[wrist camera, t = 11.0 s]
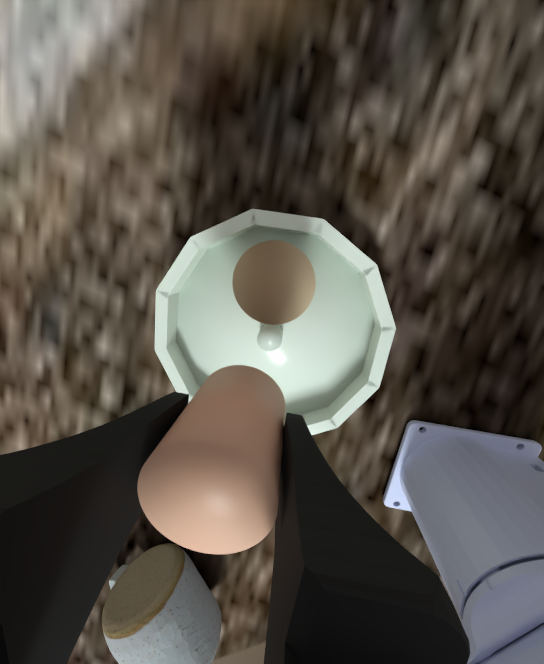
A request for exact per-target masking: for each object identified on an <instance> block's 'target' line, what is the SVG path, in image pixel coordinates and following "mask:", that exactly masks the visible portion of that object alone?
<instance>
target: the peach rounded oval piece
mask: <svg viewBox="0 0 544 664" xmlns="http://www.w3.org/2000/svg"><path fill="white" fill-rule="evenodd" d="M284 422H285V399H284V396H283V393H282V391H281V389H280V387H279V386H278V384H277V383H276V382H275V381H274V380H273V379H272V378H271V377H270V376H269V375H268V374H266V373H265V372H263V371H261V370H259V369H257V368H254V367H250V366H245V365H232V366H227V367H223V368H221V369H219V370H217V371H215V372H214V373H212V374H211V375H210V376H209V377H208V378H207V379H206V380H205V382H204V383H203V384H202V386H201V387H200V388H199V390H198V391H197V392H196V394H195V395H194V397H193V398H192V399H191V401H190V402H189V403H188V405H187V406H186V407H185V409H184V410H183V412H182V413H181V414H180V416H179V417H178V418H177V420H176V421H175V422H174V424H173V425H172V427H171V428H170V429H169V431H168V432H167V433H166V435H165V436H164V437H163V439H162V440H161V442H160V443H159V444H158V446H157V447H156V448H155V450H154V451H153V452H152V454H151V455H150V457H149V458H148V459H147V461H146V462H145V464H144V465H143V467H142V469H141V471H140V474H139V478H138V485H137V490H138V497H139V502H140V505H141V507H142V510H143V511H144V513H145V515H146V517H147V518H148V520H149V521H150V522H151V524H152V525H153V526H154V527H155V528H156V529H157V530H158V531H159V532H160V533H161V534H163V535H164V536H165V537H167V538H168V539H169V540H171V541H173V542H174V543H176V544H178V545H180V546H182V547H185V548H187V549H190V550H193V551H197V552H201V553H207V554H230V553H236V552H240V551H243V550H246V549H248V548H250V547H252V546H254V545H256V544H257V543H259V542H260V541H261V540H263V539H264V538H265V537H266V536H267V535H268V533H269V532H270V530H271V529H272V527H273V525H274V523H275V521H276V517H277V513H278V502H279V489H280V475H281V462H282V449H283V433H284Z"/></svg>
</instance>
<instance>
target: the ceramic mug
mask: <svg viewBox="0 0 544 664" xmlns="http://www.w3.org/2000/svg"><path fill="white" fill-rule="evenodd" d="M109 585H110V588H111V591H110V593H109V595H108V598H107V600H106V603H105V606H104V608H103V613H102V628H103V632H104V636H105V639H106V642H107V645H108V647H109V649H110V651H111V653H112V655H113V656H114V658H115V659H116V660H117V662H118V663H119V664H211V663H212V661H213V659H214V656H215V653H216V650H217V647H218V643H219V639H220V633H221V612H220V609H219V606H218V603H217V601H216V600H215V598H214V596H213V595H212V593H211V592H210V590H209V588H208V587H207V585H206V583H205V582H204V580H203V578H202V577H201V575H200V574H199V572H198V571H197V569H196V567H195V565H194V564H193V562H192V560H191V559H190V557H189V556H188V555H187V553H186V552H185V551H184V550H183V549H182V548H180V547H179V546H178V545H175V544H171V543H166V544H161V545H157V546H155V547H152V548H150V549H149V550H147V551H145V552H144V553H143V554H141V555H140V556H139V557H137V558H136V559H135V560H134V561H133V562H132V563H131V564H130V565H125V564H124V565H122V566H121V567H120V568H119V569H118V570H117V571H116V572H115V573H114V575H113V576H112V577H111V579H110V580H109Z"/></svg>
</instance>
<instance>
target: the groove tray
mask: <svg viewBox="0 0 544 664" xmlns="http://www.w3.org/2000/svg"><path fill="white" fill-rule="evenodd" d="M270 240H277V241H283V242H287V243H290V244H292V245H294V246H296V247H297V248H298V249H300V250H301V251H302V252H303V253H304V254H305V255H306V256H307V258H308V259H309V261H310V262H311V264H312V267H313V269H314V273H315V279H316V287H315V293H314V296H313V299H312V301H311V303H310V305H309V307H308V308H307V309H306V310H305V312H304V313H303V314H301V315H300V316H299V317H298V318H296V319H294V320H293V321H290V322H288V323H284V324H279V325H270V324H264V323H261V322H258V321H256V320H254V319H252V318H251V317H250V316H248V315H247V314H246V313H245V312H244V311H243V310H242V309H241V307H240V306H239V304H238V303H237V301H236V298H235V296H234V292H233V285H232V279H233V272H234V269H235V266H236V264H237V262H238V260H239V259H240V257H241V256H242V255H243V254H244V253H245V252H246V251H247V250H248V249H249V248H251V247H252V246H254V245H256V244H258V243H261V242H264V241H270ZM395 330H396V327H395V323H394V320H393V316H392V313H391V310H390V306H389V303H388V300H387V296H386V293H385V290H384V286H383V283H382V280H381V276H380V273H379V270H378V266H377V264H376V263H374V262H373V261H372V260H371V259H370V258H369V257H367V256H366V255H365V254H364V253H363V252H362V251H360V250H359V249H358V248H357V247H356V246H355V245H353V244H352V243H351V242H350V241H349V240H348V239H346V238H345V237H344V236H343V235H342V234H341V233H339V232H338V231H337V230H336V229H335V228H334V227H332V226H331V225H330V224H329V223H328V222H327V221H325V220H324V219H321V218H314V217H307V216H300V215H293V214H286V213H279V212H272V211H265V210H258V209H251V210H249V211H246V212H244V213H242V214H240V215H238V216H235V217H233V218H231V219H229V220H227V221H224V222H222V223H220V224H218V225H216V226H214V227H211V228H209V229H207V230H205V231H203V232H200V233H198V234H196V235H194V236H192V237H190V238H189V240H188V241H187V243H186V245H185V246H184V248H183V249H182V251H181V252H180V254H179V255H178V257H177V259H176V260H175V262H174V263H173V265H172V266H171V268H170V269H169V271H168V273H167V274H166V276H165V277H164V279H163V280H162V282H161V283H160V285H159V287H158V288H157V290H156V312H155V352H156V354H157V355H158V357H159V359H160V361H161V363H162V365H163V367H164V369H165V371H166V373H167V374H168V376H169V378H170V380H171V382H172V384H173V386H174V388H175V390H176V392H179V393H184V394H189V400H188V403H189V402H190V401H191V399H192V398H193V397H194V395H195V394H196V392H197V391H198V390H199V388H200V387H201V386H202V384H203V383H204V382H205V380H206V379H207V378H208V377H209V376H210V375H211V374H212V373H214V372H215V371H217V370H219V369H221V368H223V367H227V366H232V365H245V366H250V367H254V368H257V369H259V370H261V371H263V372H265V373H266V374H268V375H269V376H270V377H271V378H272V379H273V380H274V381H275V382H276V383H277V384H278V386H279V387H280V389H281V391H282V393H283V396H284V399H285V419H286V414H287V413H293V414H298V415H302V416H303V418H304V420H305V422H306V424H307V427H308V429H309V431H310V433H311V435H314V434H318V433H321V432H325V431H328V430H332V429H335V428H338V427H339V426H340V425H341V424H342V423H343V422H344V421H345V420H346V419H347V418H348V417H349V416H350V415H351V414H352V413H353V412H354V411H355V410H356V409H357V408H358V407H360V406H361V405H362V404H363V403H364V402H365V401H366V400H367V399H368V398H369V397H370V396H371V395H372V394H373V393H374V392H375V391H376V390H377V389H378V388H379V387H380V383H381V380H382V376H383V373H384V369H385V366H386V362H387V359H388V355H389V351H390V348H391V344H392V341H393V337H394V334H395ZM284 424H285V422H284Z"/></svg>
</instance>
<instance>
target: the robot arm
mask: <svg viewBox="0 0 544 664" xmlns="http://www.w3.org/2000/svg"><path fill="white" fill-rule="evenodd" d="M188 400H189V394H184V393H179V392H173V393H170V394H168V395H166V396H164V397H162V398H160V399H158V400H156V401H154V402H152V403H150V404H148V405H146V406H144V407H142V408H140V409H138V410H136V411H134V412H131V413H129V414H127V415H125V416H122V417H120V418H118V419H116V420H113V421H111V422H109V423H106V424H104V425H102V426H99V427H96V428H94V429H91V430H88V431H85V432H83V433H80V434H77V435H74V436H71V437H68V438H64V439H61V440H57V441H54V442H51V443H47V444H44V445H40V446H37V447H33V448H29V449H25V450H21V451H17V452H13V453H8V454H4V455H0V664H67V662H68V660H69V657H70V655H71V653H72V651H73V649H74V646H75V644H76V642H77V640H78V638H79V636H80V633H81V631H82V629H83V627H84V625H85V623H86V621H87V619H88V617H89V615H90V612H91V610H92V608H93V606H94V604H95V602H96V600H97V598H98V596H99V594H100V591H101V589H102V587H103V585H104V583H105V581H106V579H107V577H108V575H109V573H110V571H111V569H112V567H113V565H114V563H115V561H116V559H117V557H118V555H119V553H120V551H121V549H122V548H123V546H124V544H125V542H126V540H127V538H128V536H129V534H130V532H131V530H132V528H133V526H134V525H135V523H136V521H137V519H138V518H139V516H140V514H141V513H142V511H143V510H142V507H141V505H140V502H139V497H138V490H137V485H138V478H139V474H140V471H141V469H142V467H143V465H144V464H145V462H146V461H147V459H148V458H149V457H150V455H151V454H152V452H153V451H154V450H155V448H156V447H157V446H158V444H159V443H160V442H161V440H162V439H163V437H164V436H165V435H166V433H167V432H168V431H169V429H170V428H171V427H172V425H173V424H174V422H175V421H176V420H177V418H178V417H179V416H180V414H181V413H182V412H183V410H184V409H185V407H186V406H187V405H188ZM421 427H424V428H423V429H422V430H419V429H420V428H421ZM518 444H519V445H518ZM517 445H518V446H517ZM541 448H542V447H541V445H540V444H539V443H537V442H536V441H534V440H528V439H522V438H516V437H511V436H505V435H499V434H493V433H487V432H481V431H475V430H469V429H464V428H458V427H452V426H446V425H440V424H434V423H428V422H423V421H417V420H412V421H410V422H409V423H408V424H407V426H406V429H405V432H404V435H403V438H402V441H401V445H400V448H399V451H398V454H397V457H396V460H395V463H394V466H393V469H392V472H391V475H390V478H389V481H388V484H387V487H386V490H385V493H384V496H383V502H384V504H385V505H386V506H387V507H391V508H396V509H402V510H407V511H412V513H413V515H414V517H415V519H416V521H417V524H418V526H419V528H420V530H421V532H422V535H423V537H424V539H425V541H426V543H427V546H428V548H429V550H430V552H431V555H432V557H433V559H434V561H435V563H436V566H437V568H438V570H439V572H440V574H441V577H442V579H443V581H444V583H445V585H446V587H447V590H448V592H449V594H450V596H451V599H452V601H453V603H454V605H455V608H456V610H457V612H458V614H459V616H460V618H461V621H460V619H459V617H458V614H457V612H456V610H455V608H454V605H453V603H452V601H451V600H450V597H449V596H448V593H447V591H446V590H445V588H444V586H443V584H442V582H441V580H440V578H439V576H438V575H437V574H435V573H434V572H433V571H432V570H431V569H429V568H428V567H427V566H426V565H424V564H423V563H422V562H421V561H420V560H418V559H417V558H416V557H415V556H414V555H412V554H411V553H410V552H409V551H407V550H406V549H405V548H404V547H403V546H401V545H400V544H399V543H398V542H397V541H396V540H395V539H394V538H393V537H392V536H391V535H389V534H388V533H387V532H386V531H385V530H384V529H383V528H382V527H381V526H380V525H379V524H378V523H377V522H376V521H375V520H374V519H373V518H372V517H371V516H370V515H369V514H368V513H367V512H366V511H365V510H364V509H363V508H362V506H361V505H360V504H359V503H358V502H357V501H356V500H355V499H354V498H353V496H352V495H351V494H350V493H349V492H348V491H347V489H346V488H345V487H344V486H343V484H342V483H341V482H340V480H339V479H338V478H337V476H336V475H335V473H334V472H333V471H332V469H331V468H330V466H329V465H328V463H327V461H326V460H325V458H324V457H323V455H322V453H321V452H320V450H319V448H318V446H317V444H316V443H315V441H314V439H313V437H312V435H311V433H310V431H309V429H308V427H307V424H306V422H305V420H304V418H303V416H302V415H298V414H293V413H287V414H286V419H285V424H284V433H283V449H282V462H281V475H280V489H279V502H278V513H277V517H276V521H275V554H274V565H273V576H272V586H271V597H270V607H269V617H268V628H267V638H266V648H265V657H264V664H544V462H543V461H542V460H540V459H539V458H538V455H539V453H540V451H541ZM396 501H397V502H396Z"/></svg>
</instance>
